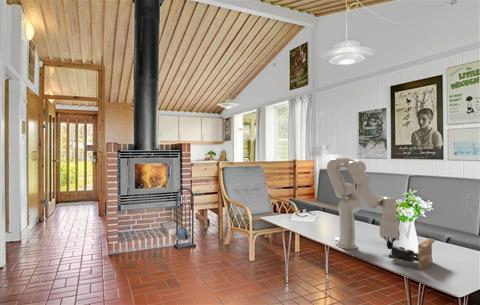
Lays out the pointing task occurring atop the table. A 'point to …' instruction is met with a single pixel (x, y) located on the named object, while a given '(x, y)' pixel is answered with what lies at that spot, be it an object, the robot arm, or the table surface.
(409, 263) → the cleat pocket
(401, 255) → the end cap
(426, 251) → the wall board
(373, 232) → the table surface
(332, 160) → the robot arm
